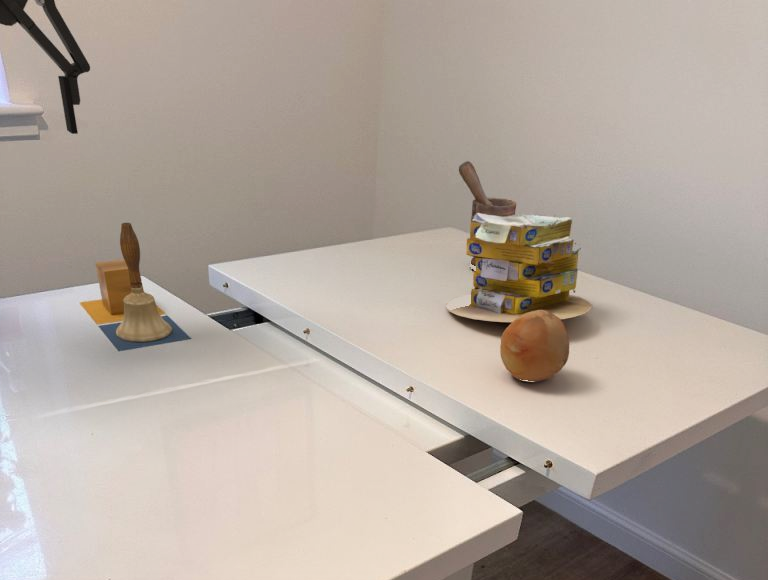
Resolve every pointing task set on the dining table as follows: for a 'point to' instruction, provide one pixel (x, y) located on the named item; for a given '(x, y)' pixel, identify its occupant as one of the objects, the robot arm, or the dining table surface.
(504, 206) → the mortar and pestle
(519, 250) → the stacked boxes on plate
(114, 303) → the block
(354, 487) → the dining table surface
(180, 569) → the dining table surface
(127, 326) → the hand bell
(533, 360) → the onion
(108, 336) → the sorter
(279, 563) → the dining table surface
